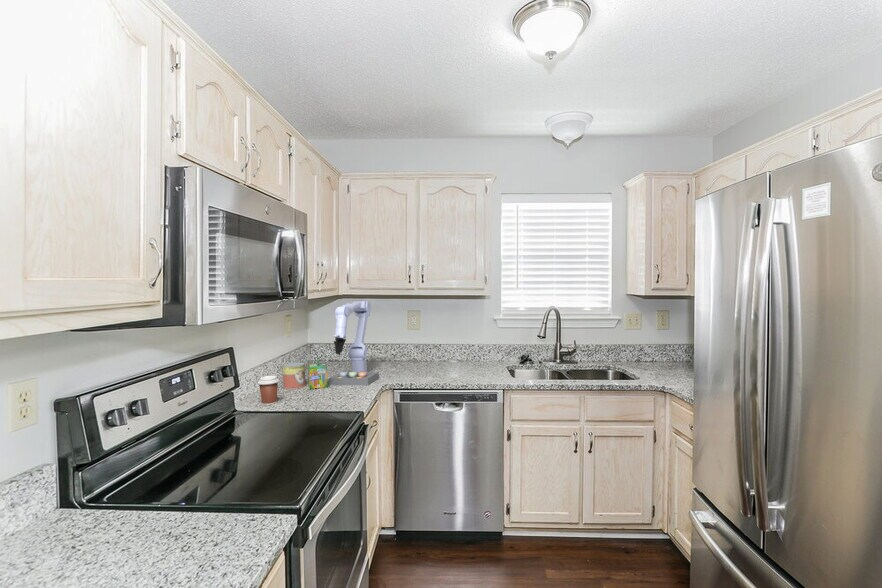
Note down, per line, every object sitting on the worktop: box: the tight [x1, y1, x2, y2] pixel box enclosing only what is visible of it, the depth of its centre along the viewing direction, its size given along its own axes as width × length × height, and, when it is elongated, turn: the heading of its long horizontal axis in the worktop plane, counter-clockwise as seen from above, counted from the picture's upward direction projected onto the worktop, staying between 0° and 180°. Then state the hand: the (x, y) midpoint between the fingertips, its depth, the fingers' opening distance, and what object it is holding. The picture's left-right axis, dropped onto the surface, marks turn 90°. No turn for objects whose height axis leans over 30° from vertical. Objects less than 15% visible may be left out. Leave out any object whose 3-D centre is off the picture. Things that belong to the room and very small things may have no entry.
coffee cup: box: [257, 375, 280, 406], centre depth 201 cm, size 9×9×12 cm
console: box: [328, 371, 380, 386], centre depth 240 cm, size 16×22×4 cm
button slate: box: [339, 371, 348, 377], centre depth 239 cm, size 4×4×3 cm
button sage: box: [348, 371, 357, 377], centre depth 238 cm, size 4×4×3 cm
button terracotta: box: [359, 372, 366, 377], centre depth 236 cm, size 4×4×3 cm
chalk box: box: [307, 358, 329, 390], centre depth 230 cm, size 9×9×15 cm
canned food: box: [281, 361, 307, 390], centre depth 232 cm, size 11×11×12 cm
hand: (338, 353), depth 234 cm, fingers open, 7 cm apart
